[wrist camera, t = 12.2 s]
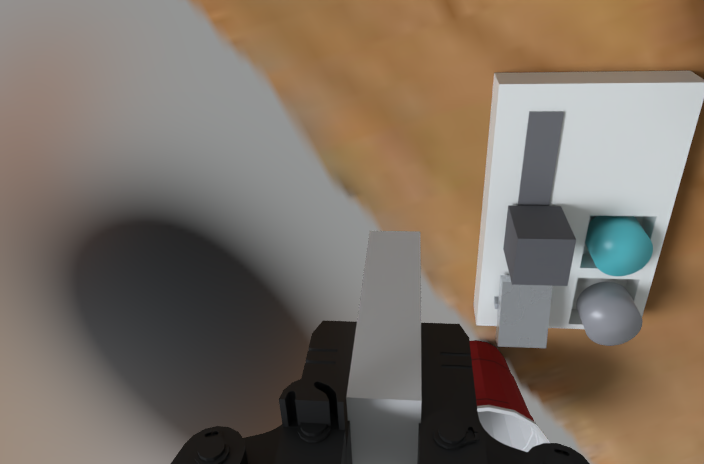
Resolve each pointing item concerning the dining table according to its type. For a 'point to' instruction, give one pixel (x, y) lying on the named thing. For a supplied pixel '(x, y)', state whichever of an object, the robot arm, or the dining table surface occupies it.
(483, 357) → the plastic cup
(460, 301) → the dining table surface
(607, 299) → the grey button
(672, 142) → the panel
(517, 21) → the dining table surface
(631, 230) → the teal button
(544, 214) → the slider knob
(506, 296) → the white block with nub
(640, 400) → the dining table surface
